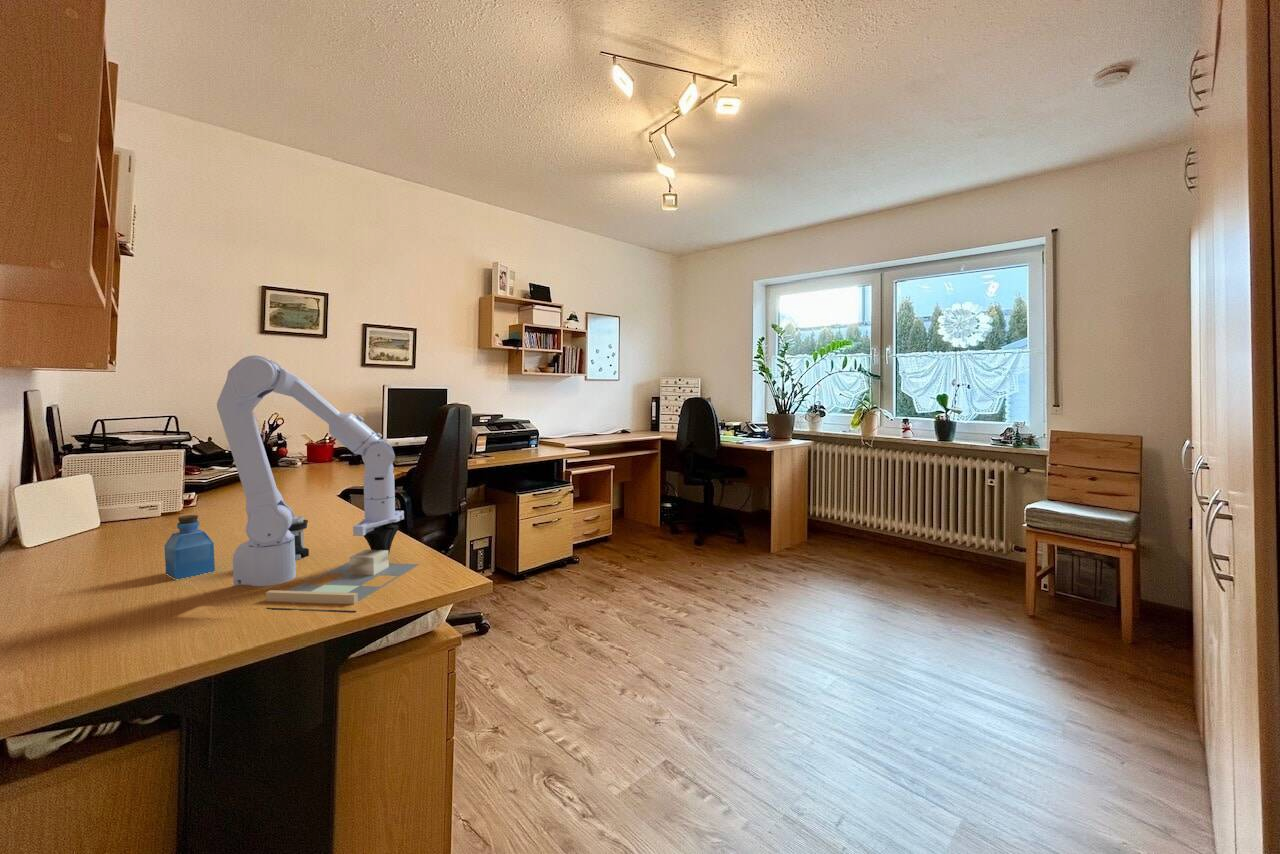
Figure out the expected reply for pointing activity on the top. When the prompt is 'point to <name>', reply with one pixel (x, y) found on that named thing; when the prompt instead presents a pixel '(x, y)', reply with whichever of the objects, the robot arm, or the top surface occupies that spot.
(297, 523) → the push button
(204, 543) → the perfume bottle
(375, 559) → the maple block
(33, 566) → the top surface
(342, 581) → the board
